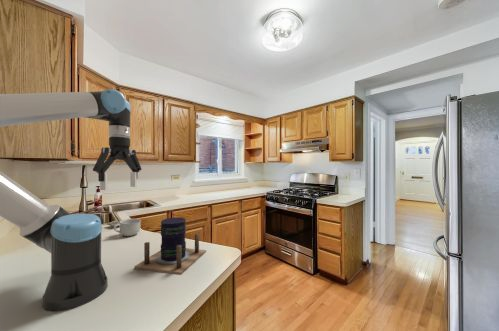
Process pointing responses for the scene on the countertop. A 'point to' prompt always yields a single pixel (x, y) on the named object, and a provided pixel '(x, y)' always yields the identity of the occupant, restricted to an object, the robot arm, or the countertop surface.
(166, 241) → the storage jar
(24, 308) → the countertop surface
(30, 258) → the countertop surface
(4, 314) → the countertop surface
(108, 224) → the ceramic fragment
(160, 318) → the countertop surface
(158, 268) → the walnut stand
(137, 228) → the teacup
